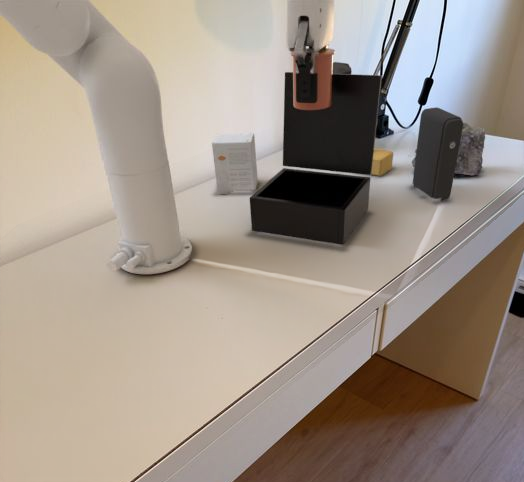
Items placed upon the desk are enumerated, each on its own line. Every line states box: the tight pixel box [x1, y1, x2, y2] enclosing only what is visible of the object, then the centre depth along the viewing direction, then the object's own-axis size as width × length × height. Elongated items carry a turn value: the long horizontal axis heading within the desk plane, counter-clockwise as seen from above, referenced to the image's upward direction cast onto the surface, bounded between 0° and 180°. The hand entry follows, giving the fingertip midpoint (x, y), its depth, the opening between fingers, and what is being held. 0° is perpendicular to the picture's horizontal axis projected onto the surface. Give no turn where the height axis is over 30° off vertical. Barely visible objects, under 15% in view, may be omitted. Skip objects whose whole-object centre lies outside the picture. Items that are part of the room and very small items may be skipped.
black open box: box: [249, 167, 371, 246], centre depth 93 cm, size 15×17×7 cm
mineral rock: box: [411, 122, 486, 177], centre depth 109 cm, size 13×11×10 cm
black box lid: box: [282, 71, 383, 176], centre depth 94 cm, size 16×17×4 cm
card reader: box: [412, 107, 464, 202], centre depth 99 cm, size 9×4×15 cm, turn 16°
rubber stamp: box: [371, 116, 394, 177], centre depth 112 cm, size 10×6×12 cm, turn 53°
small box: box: [211, 132, 259, 195], centre depth 107 cm, size 8×6×10 cm
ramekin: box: [290, 47, 336, 110], centre depth 81 cm, size 7×7×8 cm
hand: (312, 95), depth 83 cm, fingers closed on ramekin, 6 cm apart
